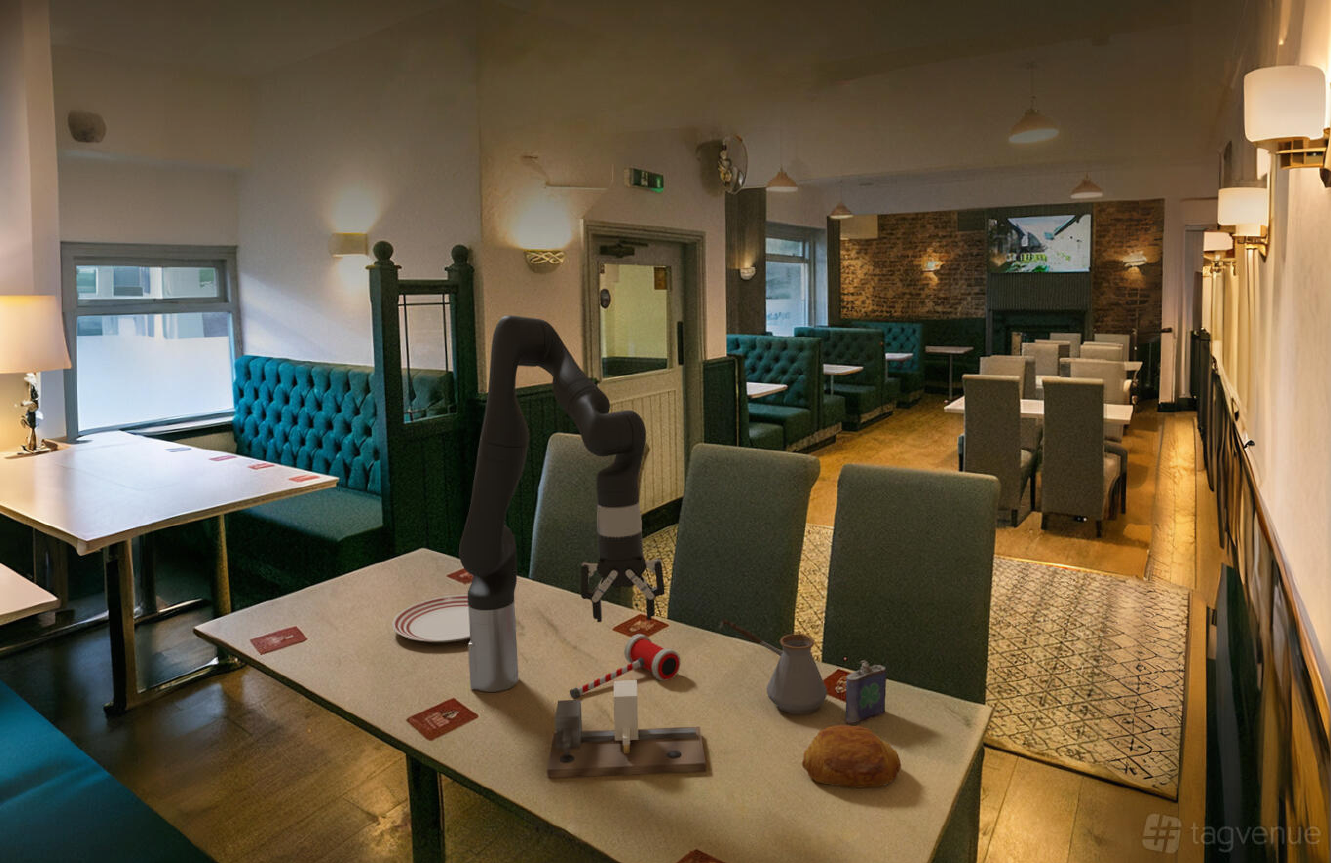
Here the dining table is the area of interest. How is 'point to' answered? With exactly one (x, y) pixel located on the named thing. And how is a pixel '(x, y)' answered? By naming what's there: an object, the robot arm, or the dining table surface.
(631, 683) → the gauge slider
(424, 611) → the dinner plate
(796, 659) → the coffee pot
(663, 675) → the toy hammer
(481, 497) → the robot arm
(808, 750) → the croissant
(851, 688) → the flask
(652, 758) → the base
